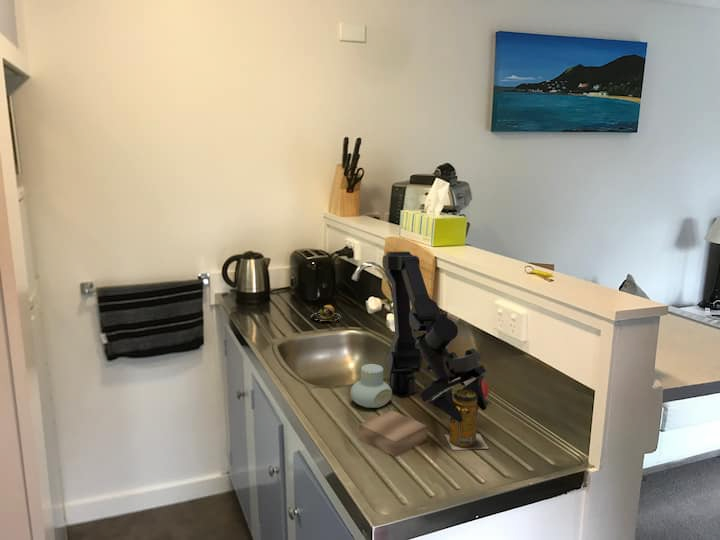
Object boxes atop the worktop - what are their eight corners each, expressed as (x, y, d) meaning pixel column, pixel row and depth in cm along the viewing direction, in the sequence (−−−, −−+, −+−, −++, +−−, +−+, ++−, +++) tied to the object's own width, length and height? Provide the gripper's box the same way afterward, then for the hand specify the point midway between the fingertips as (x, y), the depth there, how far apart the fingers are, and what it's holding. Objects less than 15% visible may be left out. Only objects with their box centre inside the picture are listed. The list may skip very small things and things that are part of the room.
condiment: (444, 435, 138) (447, 387, 136) (479, 434, 139) (483, 387, 137) (452, 450, 131) (455, 400, 129) (488, 449, 132) (493, 400, 129)
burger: (308, 316, 231) (308, 298, 230) (337, 315, 235) (337, 297, 233) (314, 325, 220) (314, 306, 219) (344, 324, 223) (344, 305, 222)
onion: (471, 408, 153) (473, 379, 151) (461, 399, 158) (463, 371, 157) (491, 406, 154) (493, 377, 153) (481, 397, 160) (483, 369, 158)
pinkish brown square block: (359, 440, 135) (359, 424, 134) (390, 425, 143) (391, 410, 142) (394, 458, 128) (395, 441, 127) (426, 441, 135) (427, 425, 134)
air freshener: (368, 415, 147) (369, 377, 145) (345, 404, 153) (346, 368, 151) (396, 402, 155) (397, 366, 153) (373, 393, 160) (374, 358, 158)
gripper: (433, 348, 126) (472, 412, 121) (482, 331, 139) (519, 389, 134) (404, 371, 134) (439, 433, 128) (453, 353, 146) (487, 409, 141)
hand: (473, 415), depth 133 cm, fingers open, 9 cm apart
